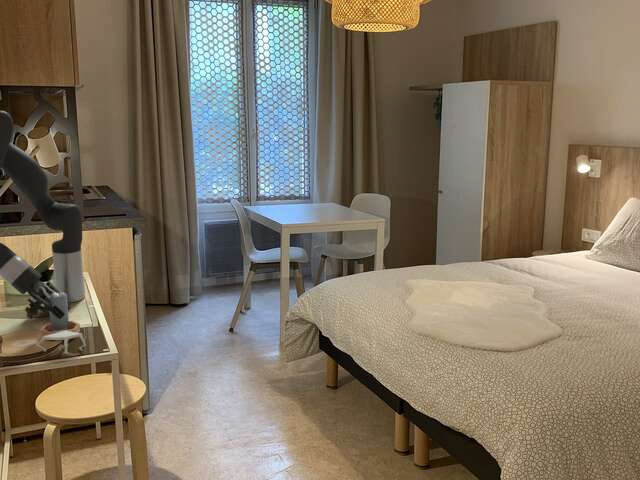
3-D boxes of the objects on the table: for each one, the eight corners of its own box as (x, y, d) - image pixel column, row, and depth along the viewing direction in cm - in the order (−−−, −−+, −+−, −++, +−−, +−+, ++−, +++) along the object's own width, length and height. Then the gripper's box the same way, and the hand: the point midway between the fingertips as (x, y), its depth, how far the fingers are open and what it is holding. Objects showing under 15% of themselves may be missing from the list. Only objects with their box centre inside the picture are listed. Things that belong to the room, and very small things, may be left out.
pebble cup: (54, 324, 194) (51, 290, 192) (71, 324, 195) (68, 290, 192) (48, 330, 189) (45, 295, 187) (66, 330, 190) (63, 295, 187)
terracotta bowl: (49, 328, 197) (48, 320, 196) (83, 328, 198) (82, 320, 197) (37, 341, 187) (37, 333, 187) (73, 340, 188) (72, 332, 188)
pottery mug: (57, 325, 202) (40, 305, 198) (33, 335, 204) (16, 316, 201) (71, 303, 212) (56, 284, 209) (48, 314, 215) (32, 295, 211)
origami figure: (81, 341, 188) (79, 325, 186) (86, 352, 180) (85, 335, 179) (36, 349, 182) (34, 332, 181) (40, 360, 175) (38, 343, 174)
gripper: (19, 272, 180) (67, 313, 184) (37, 259, 194) (81, 297, 198) (1, 290, 181) (49, 331, 185) (20, 276, 195) (64, 314, 198)
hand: (65, 313), depth 191 cm, fingers closed on pebble cup, 5 cm apart
